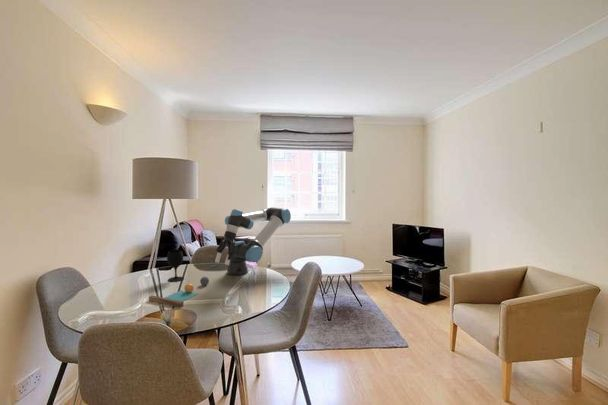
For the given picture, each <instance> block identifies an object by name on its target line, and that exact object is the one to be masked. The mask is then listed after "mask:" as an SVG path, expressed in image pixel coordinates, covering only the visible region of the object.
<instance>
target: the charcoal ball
mask: <svg viewBox="0 0 608 405" xmlns="http://www.w3.org/2000/svg"><path fill="white" fill-rule="evenodd" d="M199 283H200V284H201V285H202V286H207V285H208V284H209V283H210V278H208V277H207V276H202V277H201V278H200V281H199Z"/></svg>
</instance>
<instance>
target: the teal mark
mask: <svg viewBox="0 0 608 405" xmlns="http://www.w3.org/2000/svg"><path fill="white" fill-rule="evenodd" d="M197 295H198V293H196V292H193V291H192V292H190V293H187V292H186V291H185V290H181V289H180V290H179V291H177V292H174V293H172V294H169V295H168V296H165V297H164V298H168V299H173V300H177V301H182V302H183V303H184V301H187V300H189V299H191V298H192V297H195V296H197Z"/></svg>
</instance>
